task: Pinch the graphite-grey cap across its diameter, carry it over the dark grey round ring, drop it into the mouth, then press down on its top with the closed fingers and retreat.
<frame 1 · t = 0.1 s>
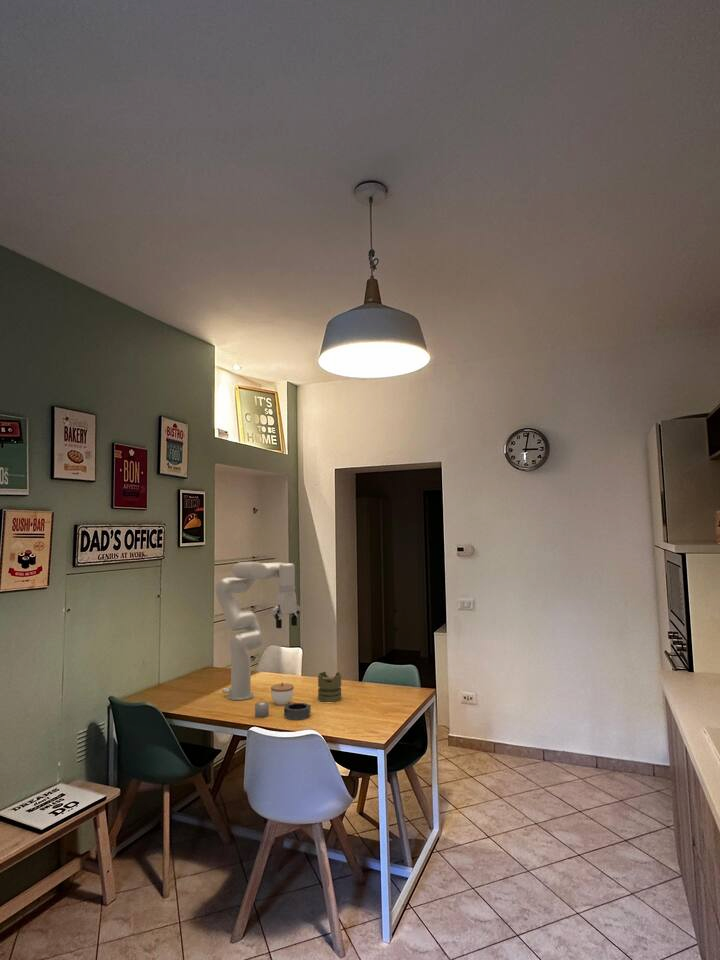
hand: (286, 626, 257), 37 cm above the table, tool pointing down, fingers open, 9 cm apart
lidded jar: (282, 703, 263), on the table
olive green vest: (329, 699, 268), on the table
dark grey round ring: (297, 716, 243), on the table
cap: (261, 715, 244), on the table
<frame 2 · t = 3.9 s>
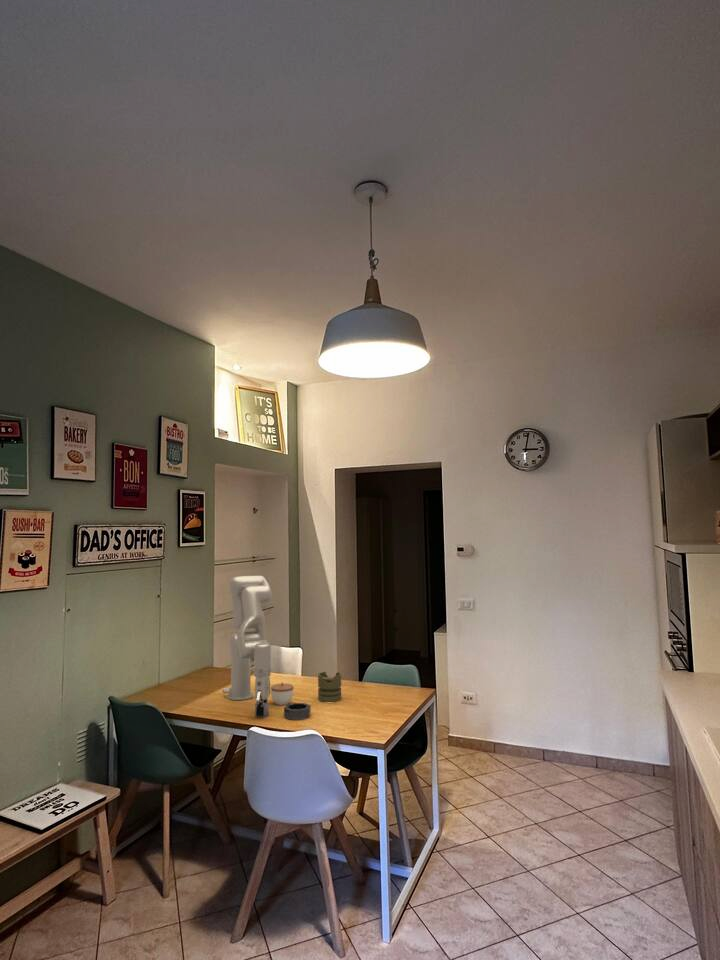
hand: (261, 713, 244), 1 cm above the table, tool pointing down, fingers closed on cap, 5 cm apart
cap: (261, 715, 244), on the table, touching gripper
everything else where it was.
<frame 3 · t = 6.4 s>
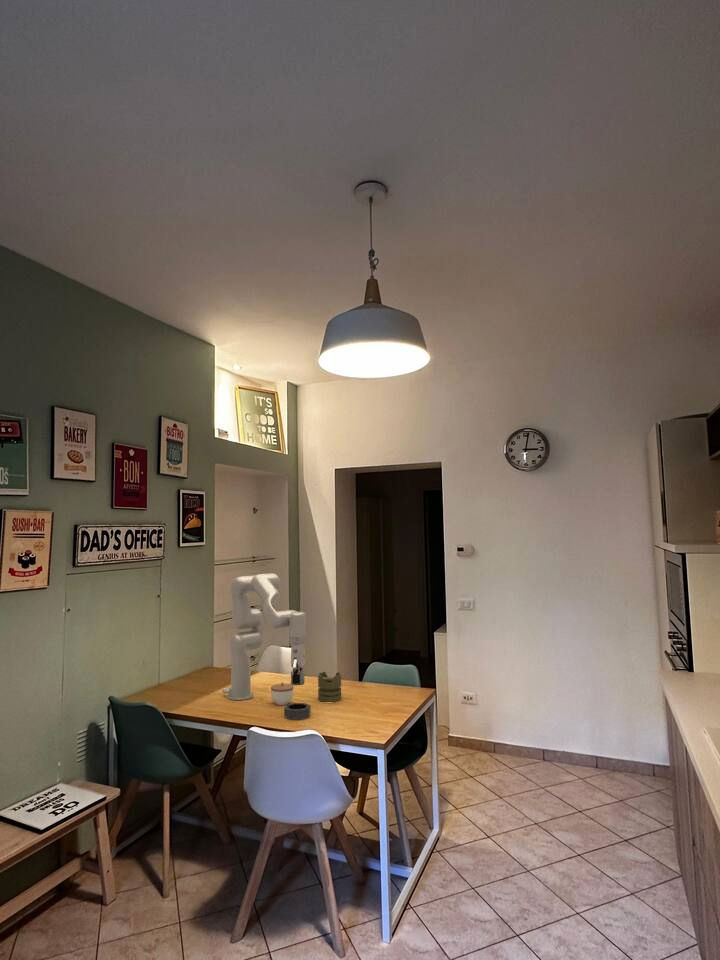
hand: (297, 681, 244), 15 cm above the table, tool pointing down, fingers closed on cap, 5 cm apart
cap: (297, 683, 244), point 14 cm above the table, touching gripper
everything else where it was.
when the fingers open (5 cm above the table, at t = 8.8 s): cap drops 4 cm, resting on dark grey round ring.
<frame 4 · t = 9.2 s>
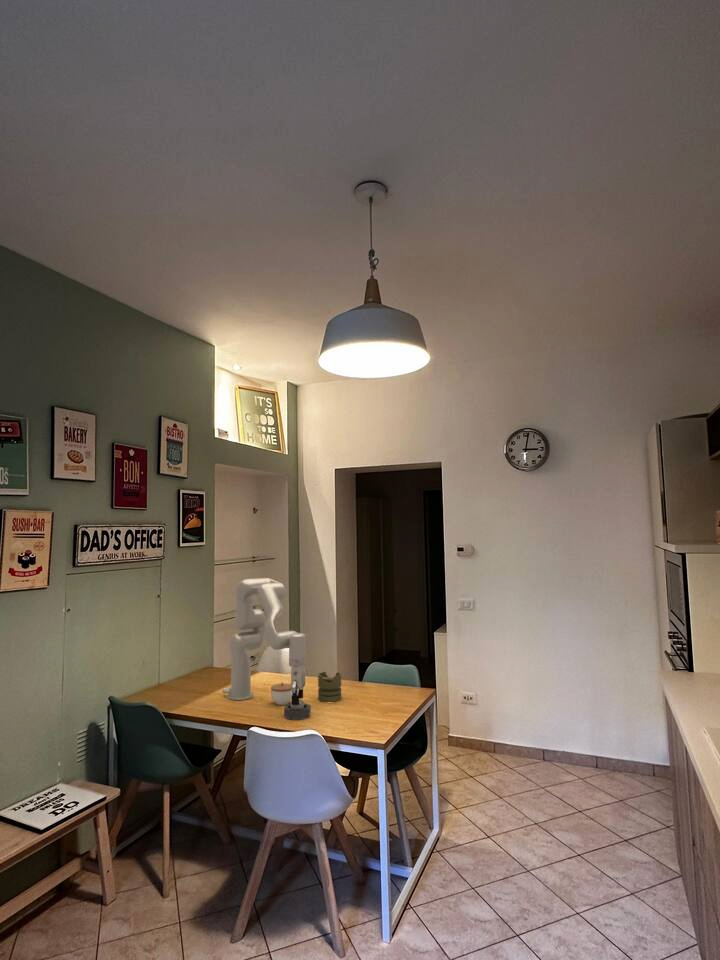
hand: (297, 701, 244), 6 cm above the table, tool pointing down, fingers open, 9 cm apart
cap: (297, 714, 243), point 1 cm above the table, touching dark grey round ring
everything else where it was.
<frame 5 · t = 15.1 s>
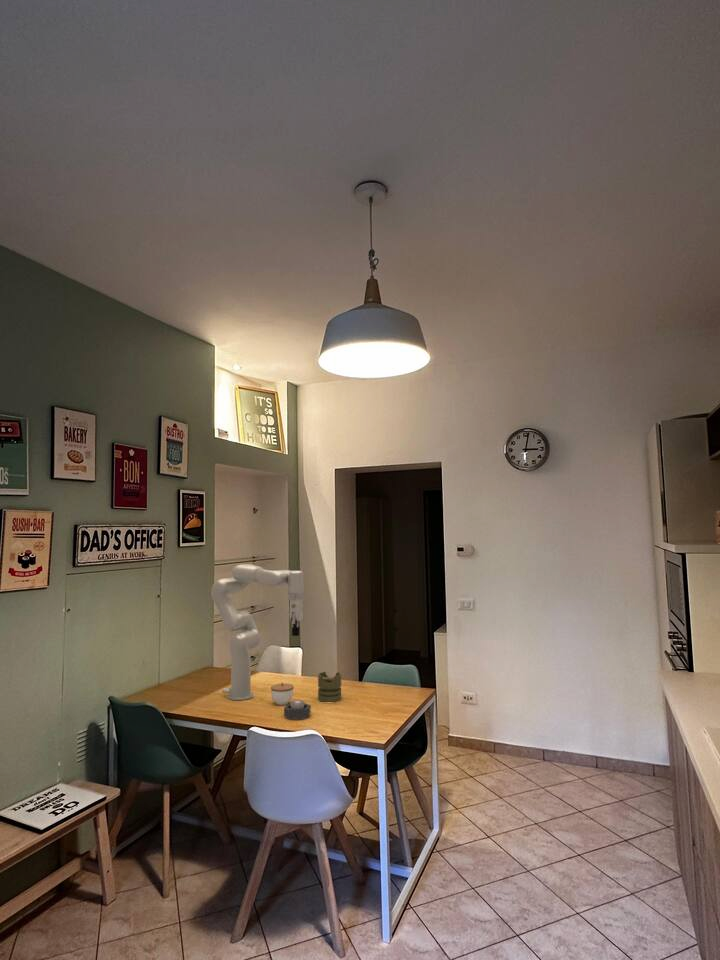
hand: (295, 635, 263), 32 cm above the table, tool pointing down, fingers closed
nothing on the table moved.
at the end: cap 0.1 cm off-centre on the dark grey round ring, point 0.8 cm above the dark grey round ring's base; cap tilted 0°; the gripper is holding nothing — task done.
